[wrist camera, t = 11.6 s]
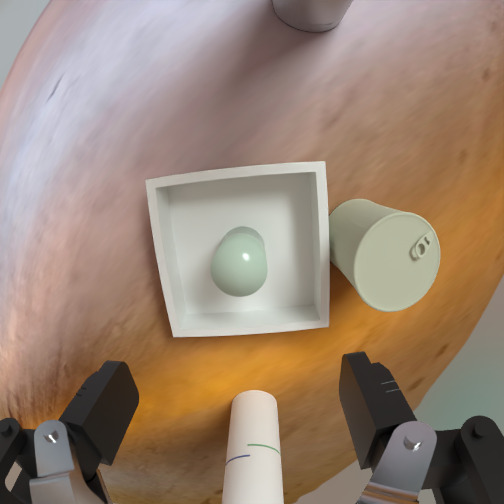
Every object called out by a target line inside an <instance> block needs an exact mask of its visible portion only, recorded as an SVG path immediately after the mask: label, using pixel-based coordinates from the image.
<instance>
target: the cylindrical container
mask: <svg viewBox="0 0 504 504" xmlns="http://www.w3.org/2000/svg"><path fill="white" fill-rule="evenodd" d="M222 504H284V502H283V486H282V470H281V455H280V441H279V427H278V413H277V402H276V400H275V398H274V397H273V396H272V395H270V394H269V393H267V392H264V391H259V390H249V391H245V392H242V393H240V394H238V395H237V396H236V397H235V398H234V399H233V401H232V409H231V418H230V428H229V438H228V448H227V458H226V468H225V477H224V487H223V497H222Z"/></svg>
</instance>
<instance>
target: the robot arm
mask: <svg viewBox="0 0 504 504" xmlns="http://www.w3.org/2000/svg"><path fill="white" fill-rule="evenodd" d="M352 1H353V0H273V2H272V3H273V9H274V11H275V13H276V14H277V15H278V17H279V18H280V19H281V20H283V21H284V22H285V23H287V24H288V25H290V26H292V27H294V28H297V29H300V30H304V31H310V32H322V31H327V30H330V29H332V28H334V27H335V26H337V25H338V24H339V23H340V21H341V20H342V18H343V16H344V15H345V13H346V11H347V10H348V8H349V7H350V5H351V3H352ZM339 396H340V401H341V404H342V408H343V411H344V414H345V417H346V421H347V424H348V427H349V430H350V434H351V437H352V440H353V444H354V447H355V451H356V454H357V458H358V461H359V465H360V468H361V470H362V469H366V468H370V467H371V469H372V472H373V475H372V477H371V479H370V481H369V482H368V484H367V486H366V488H365V489H364V491H363V492H362V494H361V496H360V498H359V499H358V501H357V503H356V504H419V501H417V498H418V495H419V492H420V490H423V489H432V491H433V494H434V497H435V500H436V504H504V436H503V435H502V433H501V431H500V430H499V428H498V427H497V425H496V423H495V422H494V421H493V420H491V419H490V418H488V417H485V416H474V417H471V418H469V419H468V420H466V422H465V423H464V424H463V426H462V427H461V429H454V430H445V431H435V430H434V429H433V428H432V427H431V426H429V425H427V424H426V423H423V422H419V421H417V419H416V418H415V416H414V414H413V412H412V410H411V408H410V406H409V405H408V403H407V401H406V399H405V397H404V396H403V394H402V392H401V390H399V387H398V385H397V383H396V382H395V380H394V378H393V376H392V374H391V373H390V371H389V370H388V369H387V368H386V367H384V366H383V365H382V364H380V363H379V362H378V363H373V364H371V363H370V361H369V359H368V357H367V355H366V353H365V352H364V351H362V352H356V353H349V354H344V355H343V357H342V364H341V373H340V381H339ZM138 403H139V393H138V390H137V387H136V385H135V382H134V380H133V378H132V375H131V373H130V370H129V368H128V365H127V364H126V363H125V362H120V361H109V360H108V361H106V362H105V363H104V364H103V365H102V367H101V368H100V370H99V371H98V372H97V371H96V372H95V373H94V374H92V375H91V376H90V377H88V378H87V379H86V381H85V382H84V383H83V385H82V386H81V389H79V391H78V392H77V393H76V396H74V398H73V399H72V401H71V402H70V404H69V405H68V406H67V408H66V409H65V411H64V412H63V414H62V415H61V417H60V418H59V420H48V421H45V422H43V423H42V424H40V425H39V426H38V427H37V429H36V430H33V429H23V428H22V427H21V426H20V424H19V423H18V421H17V420H16V419H14V418H5V419H3V420H1V421H0V504H113V503H112V501H111V498H110V496H109V494H108V491H107V489H106V486H105V483H104V481H103V478H102V475H101V472H100V470H99V469H98V466H99V464H100V463H102V464H106V465H110V466H111V465H112V463H113V460H114V458H115V456H116V453H117V451H118V449H119V446H120V444H121V442H122V440H123V437H124V435H125V433H126V430H127V428H128V426H129V424H130V421H131V419H132V417H133V415H134V413H135V410H136V408H137V406H138ZM14 462H16V463H17V464H18V465H19V466H20V467H21V468H22V471H21V472H20V474H19V476H18V478H17V480H16V482H15V484H14V486H13V488H12V490H11V492H10V491H9V490H8V489H7V488H6V486H5V478H6V476H7V475H8V473H9V471H10V469H11V467H12V465H13V464H14Z"/></svg>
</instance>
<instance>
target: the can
mask: <svg viewBox="0 0 504 504" xmlns="http://www.w3.org/2000/svg"><path fill="white" fill-rule="evenodd" d="M328 219H329V254H330V261H331V262H332V263H333V264H334V265H335V266H336V267H338V268H339V269H340V271H341V272H342V273H343V274H344V275H345V277H346V278H347V279H348V280H349V281H350V283H351V284H352V285H353V287H354V288H355V289H356V291H357V292H358V294H359V296H360V297H361V298H362V300H363V301H364V302H365V303H366V304H367V305H369V306H370V307H372V308H374V309H376V310H379V311H383V312H395V311H400V310H403V309H406V308H408V307H410V306H412V305H413V304H415V303H416V302H417V301H419V300H420V299H421V298H422V297H423V296H424V295H425V294H426V292H427V291H428V290H429V288H430V287H431V285H432V284H433V282H434V280H435V277H436V275H437V272H438V268H439V263H440V246H439V241H438V238H437V235H436V233H435V231H434V229H433V228H432V226H431V225H430V224H429V223H428V222H427V221H426V220H425V219H424V218H422V217H420V216H419V215H416V214H414V213H410V212H403V211H399V210H396V209H392V208H388V207H385V206H381V205H378V204H376V203H374V202H372V201H369V200H365V199H353V200H349V201H346V202H344V203H342V204H341V205H339V206H338V207H337V208H336V209H335V210H334V211H333V212H332V213H331V214H330V216H329V217H328Z"/></svg>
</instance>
